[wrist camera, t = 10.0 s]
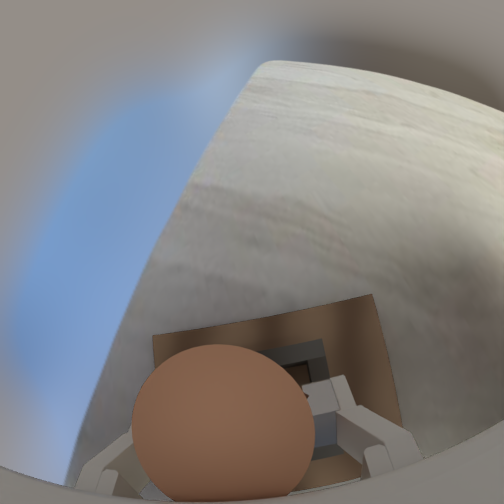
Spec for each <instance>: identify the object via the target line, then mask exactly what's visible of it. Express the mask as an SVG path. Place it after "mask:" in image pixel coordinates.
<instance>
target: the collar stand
mask: <svg viewBox="0 0 504 504" xmlns="http://www.w3.org/2000/svg"><path fill="white" fill-rule="evenodd" d="M213 344H222V345H233V346H239V347H243V348H246V349H250V350H253V351H255V352H257V353H260V354H262V355H264V356H266V357H267V358H269V359H271V360H273V361H274V362H275V363H277V364H278V365H279V366H281V367H282V368H283V369H284V370H285V371H286V372H287V373H288V374H290V375H291V376H292V377H293V379H294V380H295V381H296V383H297V384H298V385H299V386H300V388H301V390H302V384H306V383H311V382H316V381H320V380H324V379H330V378H332V377H336V376H340V375H344V376H345V378H346V380H347V383H348V385H349V388H350V390H351V393H352V395H353V398H354V401H355V403H356V406H359V405H362V406H363V407H365V408H367V409H369V410H370V411H372V412H374V413H376V414H378V415H379V416H381V417H383V418H385V419H387V420H388V421H390V422H392V423H394V424H396V425H398V426H399V427H401V428H403V427H402V421H401V416H400V410H399V405H398V399H397V394H396V389H395V385H394V380H393V375H392V371H391V366H390V362H389V357H388V353H387V349H386V345H385V341H384V337H383V333H382V329H381V325H380V321H379V317H378V314H377V310H376V306H375V303H374V299H373V296H372V294H369V295H365V296H361V297H357V298H352V299H348V300H344V301H340V302H335V303H331V304H326V305H322V306H317V307H313V308H308V309H303V310H299V311H294V312H289V313H284V314H279V315H274V316H269V317H264V318H258V319H253V320H248V321H242V322H237V323H231V324H225V325H219V326H213V327H207V328H201V329H194V330H188V331H181V332H174V333H167V334H160V335H153V351H154V363H155V369H156V368H157V367H158V366H160V365H161V364H162V363H163V362H164V361H166V360H167V359H169V358H170V357H172V356H174V355H176V354H178V353H180V352H182V351H185V350H188V349H190V348H194V347H198V346H203V345H213ZM361 471H362V464H361V463H359V462H358V461H357V460H356V459H354V458H353V457H352V456H351V455H349V454H348V453H347V452H346V451H345V450H343V449H342V448H341V447H340V446H339V445H337V443H336V444H331V445H326V446H321V447H316V448H314V450H313V455H312V458H311V461H310V464H309V467H308V469H307V471H306V472H305V474H304V476H303V478H302V479H301V481H300V482H299V483H298V485H297V486H296V487H295V488H294V489H293V490H292V491H291V492H293V491H300V490H305V489H311V488H316V487H321V486H326V485H331V484H335V483H340V482H344V481H348V480H352V479H356V478H359V477H361Z"/></svg>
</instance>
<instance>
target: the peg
mask: <svg viewBox="0 0 504 504" xmlns="http://www.w3.org/2000/svg"><path fill="white" fill-rule="evenodd" d="M132 439H133V443H134V448H135V451H136V454H137V457H138V459H139V461H140V463H141V465H142V467H143V469H144V471H145V472H146V474H147V475H148V477H149V478H150V479H151V481H152V482H153V483H154V484H155V485H156V486H157V487H158V488H159V489H160V490H161V491H162V492H163V493H164V494H165V495H167V496H168V497H169V498H171V499H172V500H174V501H175V502H228V501H244V500H256V499H266V498H275V497H282V496H287V495H288V494H289V493H290V492H291V491H292V490H293V489H294V488H295V487H296V486H297V485H298V483H299V482H300V481H301V479H302V478H303V476H304V474H305V472H306V471H307V469H308V467H309V464H310V461H311V458H312V455H313V450H314V445H315V427H314V419H313V415H312V411H311V408H310V406H309V403H308V401H307V398H306V396H305V395H304V393H303V391H302V390H301V388H300V386H299V385H298V384H297V383H296V381H295V380H294V379H293V377H292V376H291V375H290V374H288V373H287V372H286V371H285V370H284V369H283V368H282V367H281V366H279V365H278V364H277V363H275V362H274V361H273V360H271V359H269V358H267V357H266V356H264V355H262V354H260V353H257V352H255V351H253V350H250V349H246V348H243V347H239V346H233V345H222V344H213V345H203V346H198V347H194V348H190V349H188V350H185V351H182V352H180V353H178V354H176V355H174V356H172V357H170V358H169V359H167V360H166V361H164V362H163V363H162V364H161V365H160V366H158V367H157V368H156V369H155V370H154V371H153V372H152V373H151V375H150V376H149V377H148V378H147V380H146V381H145V383H144V384H143V386H142V387H141V390H140V392H139V394H138V396H137V399H136V402H135V405H134V409H133V414H132Z"/></svg>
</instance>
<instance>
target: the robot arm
mask: <svg viewBox="0 0 504 504" xmlns="http://www.w3.org/2000/svg"><path fill="white" fill-rule="evenodd" d="M302 391H303V393H304V395H305V396H306V398H307V401H308V403H309V406H310V408H311V411H312V415H313V419H314V427H315V445H314V448H316V447H321V446H326V445H331V444H336V443H337V445H339V446H340V447H341V448H342V449H343V450H345V451H346V452H347V453H348V454H349V455H351V456H352V457H353V458H354V459H356V460H357V461H358V462H359V463H361V464H362V471H361V479H360V481H357V482H353V483H349V484H345V485H341V486H337V487H332V488H328V489H323V490H318V491H313V492H307V493H302V494H296V495H289V496H282V497H275V498H266V499H256V500H244V501H228V502H172V501H156V500H144V499H143V498H142V497H141V496H140V495H139V493H140V492H141V490H142V489H143V488H144V487H145V486H146V485H147V484H148V482H149V481H150V480H151V479H150V478H149V477H148V475H147V474H146V472H145V471H144V469H143V467H142V465H141V463H140V461H139V459H138V457H137V454H136V451H135V448H134V443H133V439H132V422H131V425H130V428H129V431H128V433H124V434H123V435H121V436H120V437H119V438H118V439H116V440H115V441H114V442H113V443H111V444H110V445H109V446H108V447H106V448H105V449H104V450H103V451H101V452H100V453H99V454H97V455H96V456H95V457H94V458H92V459H91V460H90V461H88V462H87V463H86V464H85V465H84V466H83V468H82V470H81V473H80V475H79V478H78V480H77V483H76V485H75V488H70V487H66V486H62V485H58V484H54V483H50V482H47V481H43V480H40V479H37V478H34V477H30V476H27V475H24V474H21V473H18V472H15V471H13V470H9V469H7V468H5V467H2V466H0V504H504V420H502V421H501V422H499V423H497V424H495V425H494V426H492V427H490V428H488V429H487V430H485V431H483V432H481V433H479V434H477V435H475V436H473V437H471V438H470V439H468V440H466V441H464V442H461V443H459V444H457V445H455V446H453V447H451V448H449V449H447V450H444V451H442V452H440V453H437V454H435V455H433V456H430V457H428V458H426V459H424V458H423V456H422V454H421V452H420V450H419V448H418V446H417V444H416V442H415V439H414V437H413V435H412V433H411V432H409V431H407V430H405V429H403V428H401V427H399V426H398V425H396V424H394V423H392V422H390V421H388V420H387V419H385V418H383V417H381V416H379V415H378V414H376V413H374V412H372V411H370V410H369V409H367V408H365V407H363V406H362V405H359V406H356V403H355V401H354V398H353V395H352V393H351V390H350V388H349V385H348V383H347V380H346V378H345V376H344V375H340V376H336V377H332V378H330V379H324V380H320V381H316V382H311V383H306V384H302Z"/></svg>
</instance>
